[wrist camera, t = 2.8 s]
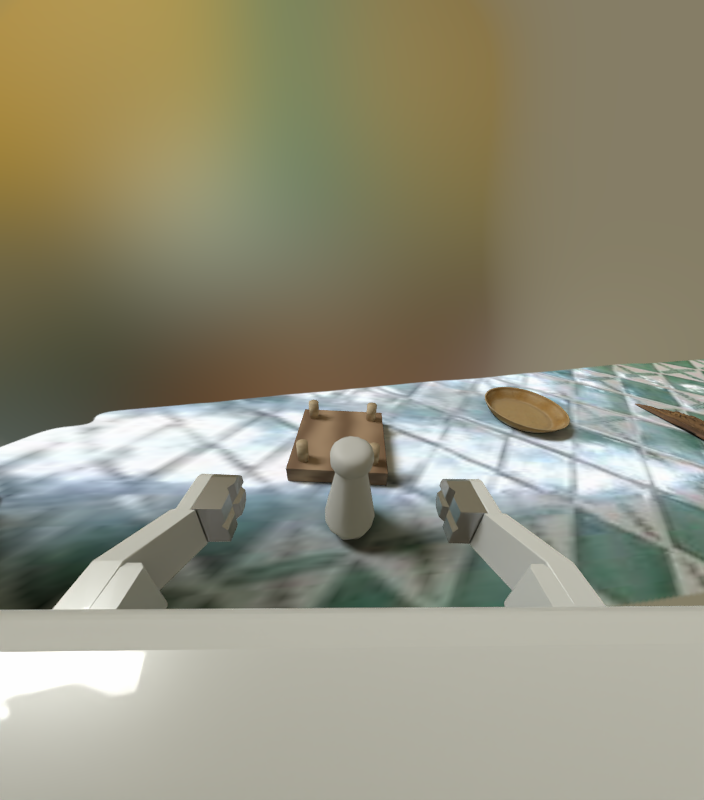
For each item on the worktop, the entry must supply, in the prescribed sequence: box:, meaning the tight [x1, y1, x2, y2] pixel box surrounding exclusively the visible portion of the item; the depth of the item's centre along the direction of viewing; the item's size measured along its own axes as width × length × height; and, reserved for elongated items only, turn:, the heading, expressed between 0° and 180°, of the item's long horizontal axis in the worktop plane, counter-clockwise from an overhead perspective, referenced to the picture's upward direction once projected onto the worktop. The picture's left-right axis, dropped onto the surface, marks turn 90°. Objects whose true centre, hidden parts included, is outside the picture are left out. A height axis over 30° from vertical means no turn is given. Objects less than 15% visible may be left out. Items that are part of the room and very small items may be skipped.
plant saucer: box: [485, 387, 570, 433], centre depth 51 cm, size 15×15×3 cm
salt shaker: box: [325, 436, 375, 540], centre depth 27 cm, size 6×6×13 cm
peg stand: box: [286, 400, 388, 485], centre depth 40 cm, size 14×14×6 cm
